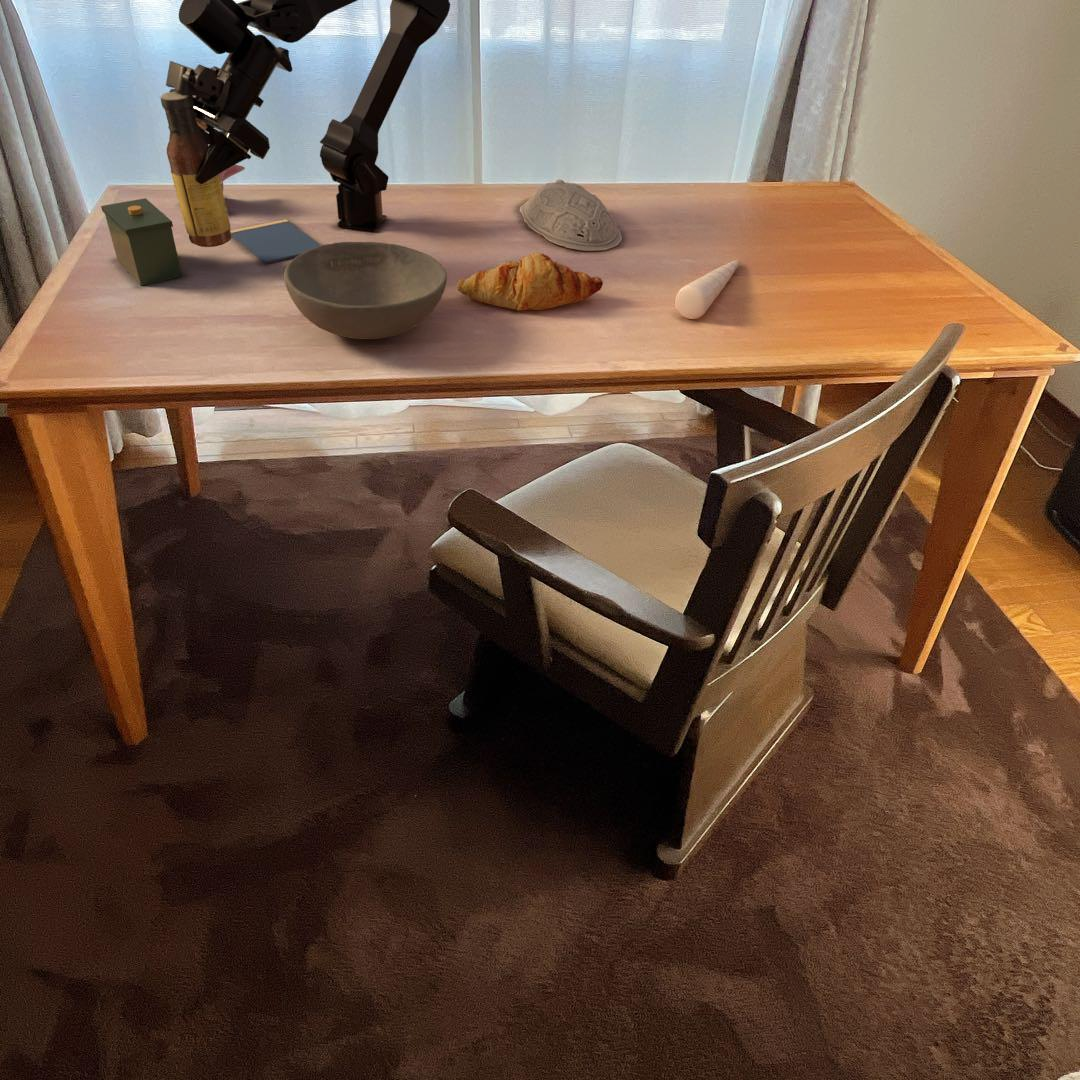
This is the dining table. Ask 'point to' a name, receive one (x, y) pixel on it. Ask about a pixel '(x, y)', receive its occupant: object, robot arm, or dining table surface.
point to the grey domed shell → (578, 204)
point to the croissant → (530, 284)
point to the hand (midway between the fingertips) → (186, 175)
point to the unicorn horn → (703, 291)
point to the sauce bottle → (194, 175)
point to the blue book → (274, 240)
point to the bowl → (365, 288)
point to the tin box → (143, 240)
